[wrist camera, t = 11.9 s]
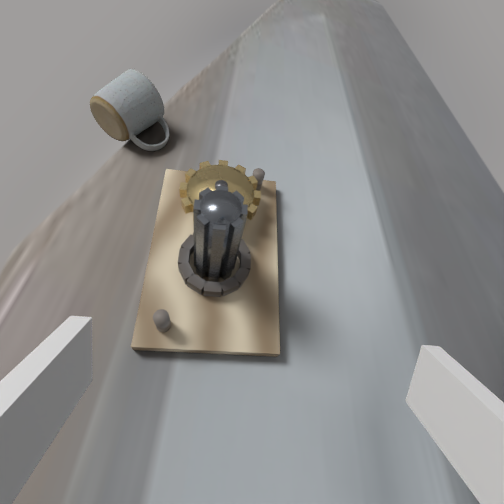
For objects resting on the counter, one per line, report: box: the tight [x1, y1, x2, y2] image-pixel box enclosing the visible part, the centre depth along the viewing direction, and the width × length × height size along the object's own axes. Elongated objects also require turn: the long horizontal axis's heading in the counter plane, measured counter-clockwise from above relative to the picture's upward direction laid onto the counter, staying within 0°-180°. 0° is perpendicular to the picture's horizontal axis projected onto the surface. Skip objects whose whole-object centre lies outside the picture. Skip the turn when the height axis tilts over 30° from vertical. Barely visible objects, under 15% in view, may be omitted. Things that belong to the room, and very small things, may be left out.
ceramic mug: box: [90, 69, 169, 151], centre depth 47 cm, size 11×8×8 cm
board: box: [131, 168, 280, 357], centre depth 40 cm, size 16×25×4 cm, turn 179°
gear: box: [179, 160, 261, 222], centre depth 42 cm, size 10×10×5 cm
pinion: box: [193, 186, 248, 282], centre depth 34 cm, size 5×5×12 cm
